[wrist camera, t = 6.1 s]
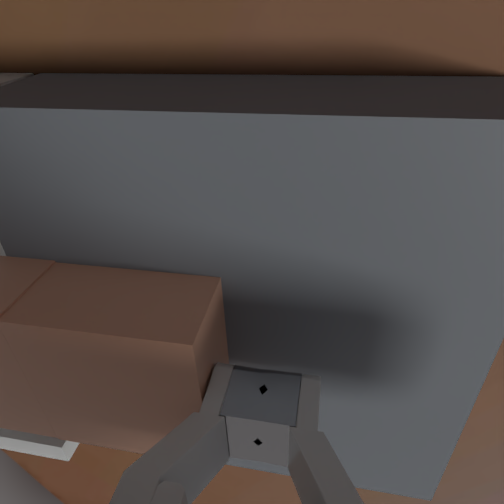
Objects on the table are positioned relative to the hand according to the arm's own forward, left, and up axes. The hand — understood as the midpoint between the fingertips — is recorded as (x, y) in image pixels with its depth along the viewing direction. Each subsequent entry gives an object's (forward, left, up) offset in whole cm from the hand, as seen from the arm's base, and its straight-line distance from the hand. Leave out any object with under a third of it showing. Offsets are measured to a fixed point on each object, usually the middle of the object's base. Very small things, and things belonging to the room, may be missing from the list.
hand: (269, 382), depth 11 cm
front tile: (0, -4, -1) cm, 4 cm away
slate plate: (0, -1, -5) cm, 5 cm away
